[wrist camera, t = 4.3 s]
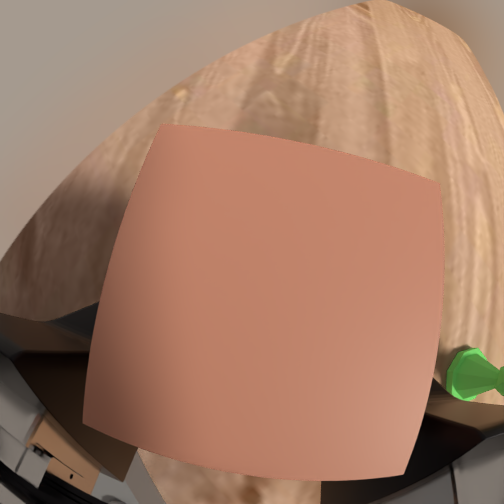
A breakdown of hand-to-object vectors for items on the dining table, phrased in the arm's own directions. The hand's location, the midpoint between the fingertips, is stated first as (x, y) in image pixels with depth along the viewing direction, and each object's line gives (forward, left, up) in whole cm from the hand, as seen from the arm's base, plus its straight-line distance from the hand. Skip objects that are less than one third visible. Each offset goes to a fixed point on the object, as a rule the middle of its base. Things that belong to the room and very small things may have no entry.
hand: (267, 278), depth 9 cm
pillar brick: (-1, +1, -7) cm, 7 cm away
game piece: (-11, -12, -7) cm, 18 cm away
